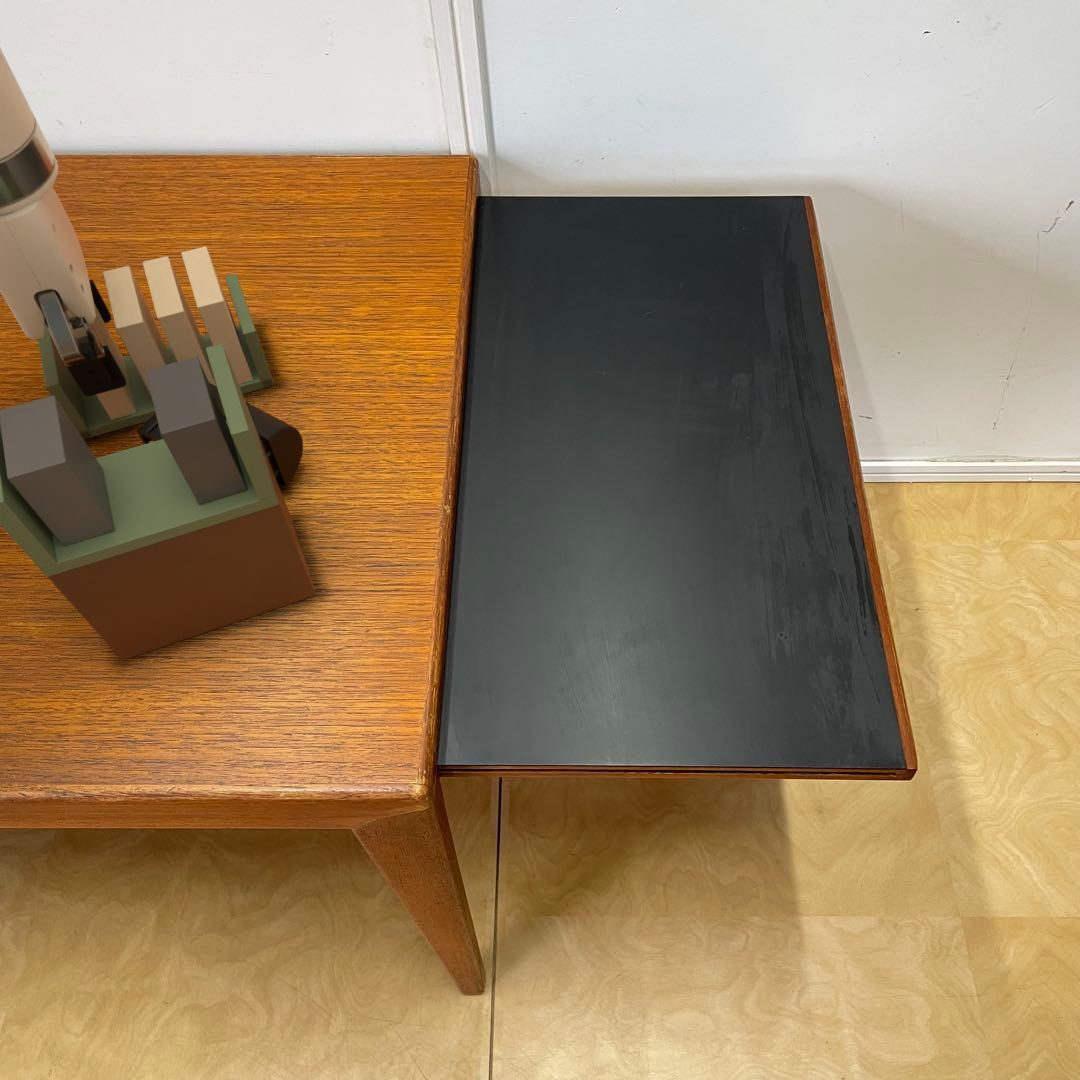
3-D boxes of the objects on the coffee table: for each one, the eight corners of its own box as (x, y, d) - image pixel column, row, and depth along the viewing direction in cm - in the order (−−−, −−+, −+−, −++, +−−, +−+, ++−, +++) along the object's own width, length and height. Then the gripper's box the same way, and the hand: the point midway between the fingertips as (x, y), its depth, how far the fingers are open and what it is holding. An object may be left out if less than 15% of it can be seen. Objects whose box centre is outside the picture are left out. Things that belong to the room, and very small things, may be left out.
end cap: (312, 465, 74) (295, 411, 68) (254, 529, 70) (230, 477, 65) (217, 414, 76) (192, 358, 71) (157, 473, 73) (126, 419, 67)
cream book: (111, 420, 75) (64, 341, 67) (99, 364, 78) (53, 283, 70) (136, 413, 75) (92, 334, 67) (123, 357, 78) (80, 276, 70)
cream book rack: (81, 440, 75) (24, 355, 66) (69, 379, 78) (14, 291, 70) (274, 385, 78) (244, 297, 70) (255, 329, 81) (224, 239, 73)
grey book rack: (122, 660, 65) (-22, 501, 48) (107, 580, 68) (-33, 404, 51) (316, 595, 68) (246, 423, 51) (292, 521, 71) (219, 337, 54)
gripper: (-84, 95, 61) (37, 295, 76) (-68, 263, 53) (64, 450, 68) (33, 71, 63) (129, 272, 78) (66, 231, 54) (166, 421, 70)
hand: (98, 354), depth 73 cm, fingers open, 6 cm apart
